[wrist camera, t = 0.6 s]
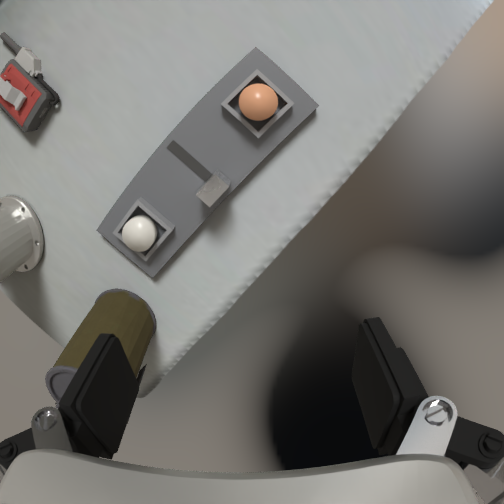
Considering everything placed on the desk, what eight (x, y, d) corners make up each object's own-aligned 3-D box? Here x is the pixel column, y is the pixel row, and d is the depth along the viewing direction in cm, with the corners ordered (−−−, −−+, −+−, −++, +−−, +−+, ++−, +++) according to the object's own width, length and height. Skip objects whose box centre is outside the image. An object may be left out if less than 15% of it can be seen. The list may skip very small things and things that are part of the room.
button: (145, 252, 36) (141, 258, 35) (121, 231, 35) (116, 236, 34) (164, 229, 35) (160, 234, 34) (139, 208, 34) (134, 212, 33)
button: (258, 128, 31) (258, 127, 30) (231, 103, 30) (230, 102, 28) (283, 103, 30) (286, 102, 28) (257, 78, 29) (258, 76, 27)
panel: (155, 273, 41) (149, 283, 38) (100, 226, 38) (91, 234, 35) (316, 106, 33) (322, 104, 30) (255, 50, 30) (256, 43, 27)
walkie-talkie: (73, 87, 30) (10, 29, 24) (56, 84, 26) (-6, 25, 20) (40, 138, 33) (-17, 75, 27) (21, 141, 29) (-34, 74, 23)
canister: (85, 316, 43) (29, 405, 25) (113, 275, 41) (47, 369, 22) (137, 354, 46) (103, 453, 28) (171, 319, 44) (139, 429, 25)
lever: (230, 180, 34) (229, 186, 31) (212, 199, 35) (209, 207, 32) (217, 169, 34) (214, 173, 30) (200, 188, 34) (195, 194, 31)
